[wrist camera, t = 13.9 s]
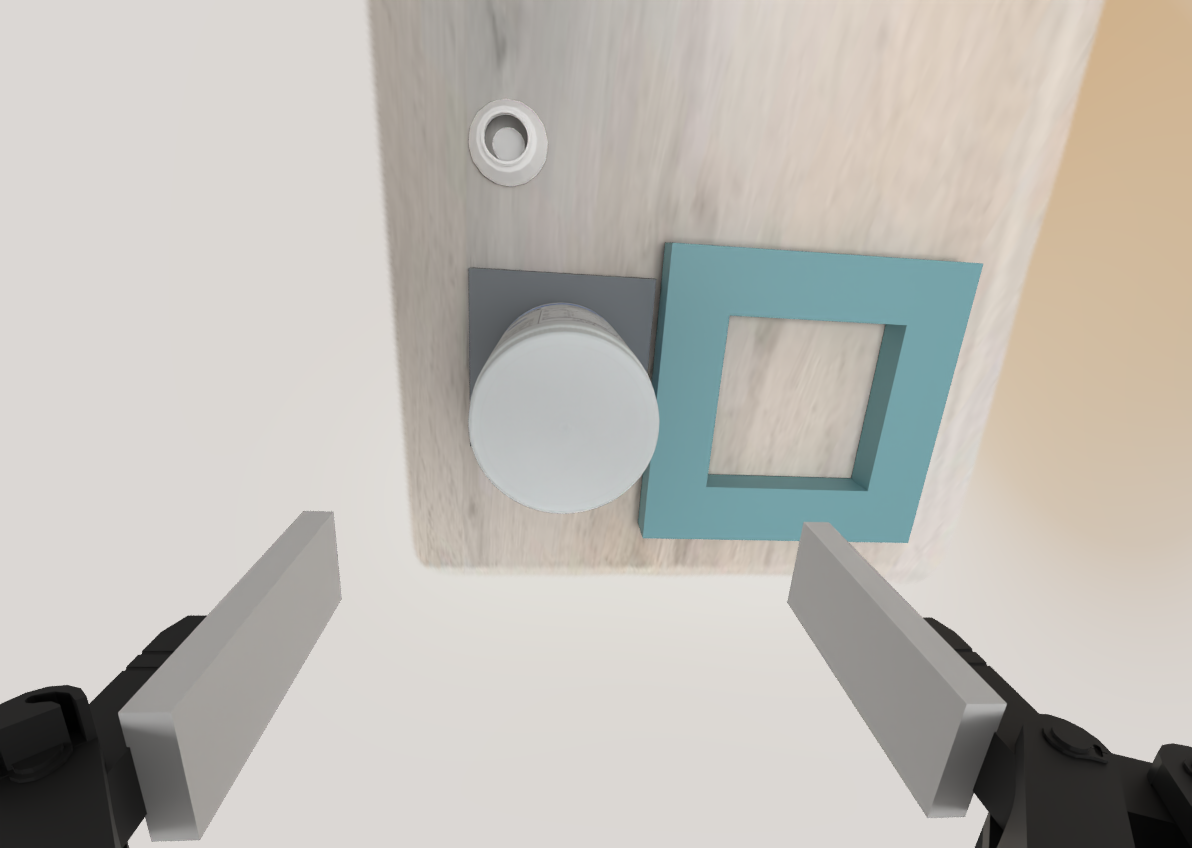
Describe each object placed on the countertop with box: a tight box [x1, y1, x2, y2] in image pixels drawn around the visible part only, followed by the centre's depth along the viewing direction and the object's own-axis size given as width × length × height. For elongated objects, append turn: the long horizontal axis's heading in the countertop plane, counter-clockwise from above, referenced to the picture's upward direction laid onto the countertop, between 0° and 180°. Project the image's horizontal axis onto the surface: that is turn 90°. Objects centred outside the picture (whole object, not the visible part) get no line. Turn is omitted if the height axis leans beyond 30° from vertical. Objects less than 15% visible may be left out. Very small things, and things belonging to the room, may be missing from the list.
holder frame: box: [638, 243, 983, 543], centre depth 42 cm, size 22×22×2 cm
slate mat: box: [469, 268, 656, 446], centre depth 40 cm, size 13×13×1 cm
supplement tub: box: [468, 303, 659, 514], centre depth 33 cm, size 10×10×15 cm
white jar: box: [468, 98, 548, 187], centre depth 35 cm, size 5×3×5 cm
